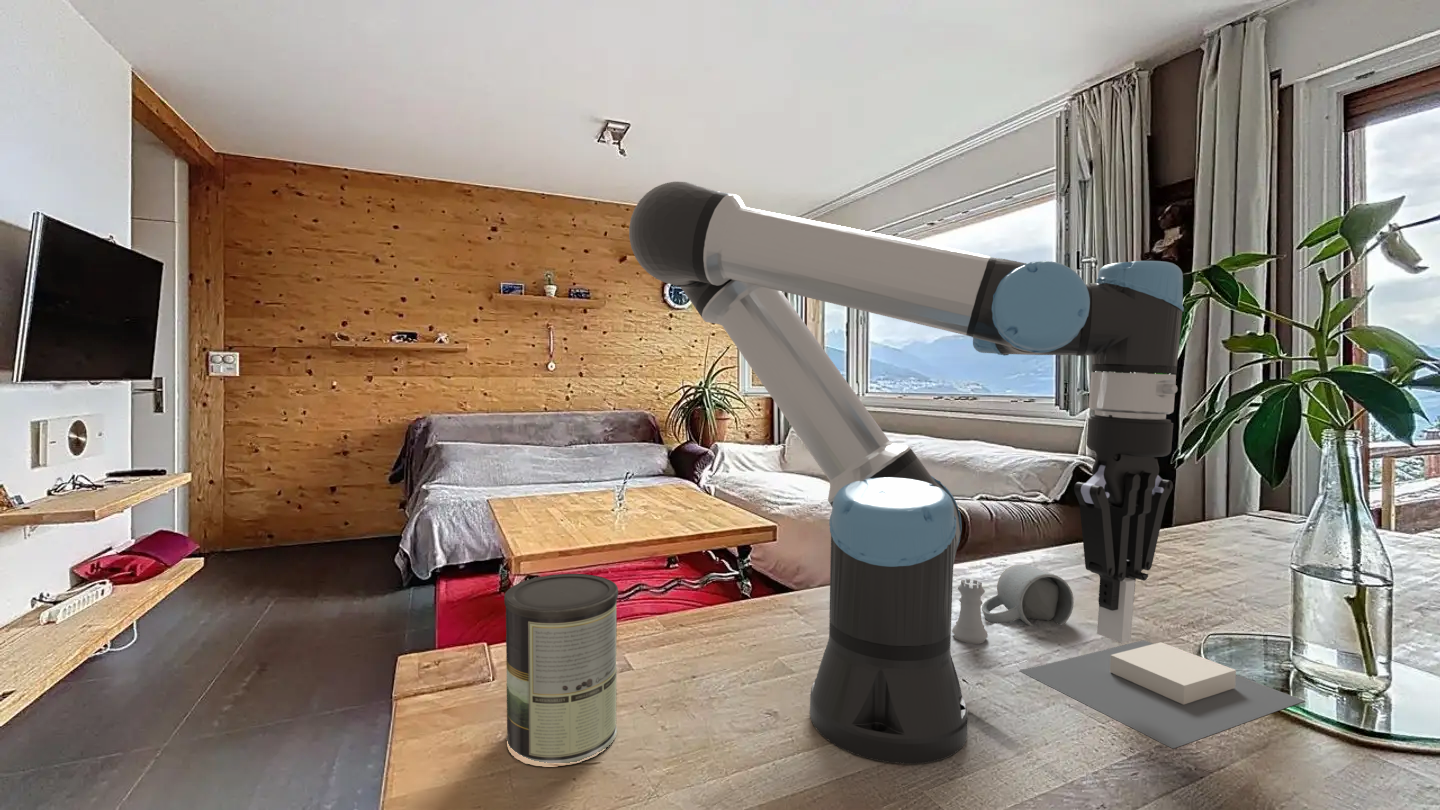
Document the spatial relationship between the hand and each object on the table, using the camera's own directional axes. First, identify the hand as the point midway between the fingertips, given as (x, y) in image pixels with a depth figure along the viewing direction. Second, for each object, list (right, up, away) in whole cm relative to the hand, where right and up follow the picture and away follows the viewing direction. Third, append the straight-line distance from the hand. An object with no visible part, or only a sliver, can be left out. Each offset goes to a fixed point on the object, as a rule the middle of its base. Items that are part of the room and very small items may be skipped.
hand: (1113, 637), depth 71 cm
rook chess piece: (-10, -6, +15) cm, 19 cm away
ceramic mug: (+1, -6, +23) cm, 24 cm away
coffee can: (-56, -7, -7) cm, 57 cm away
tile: (+4, -5, +2) cm, 7 cm away
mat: (+6, -7, +3) cm, 10 cm away
